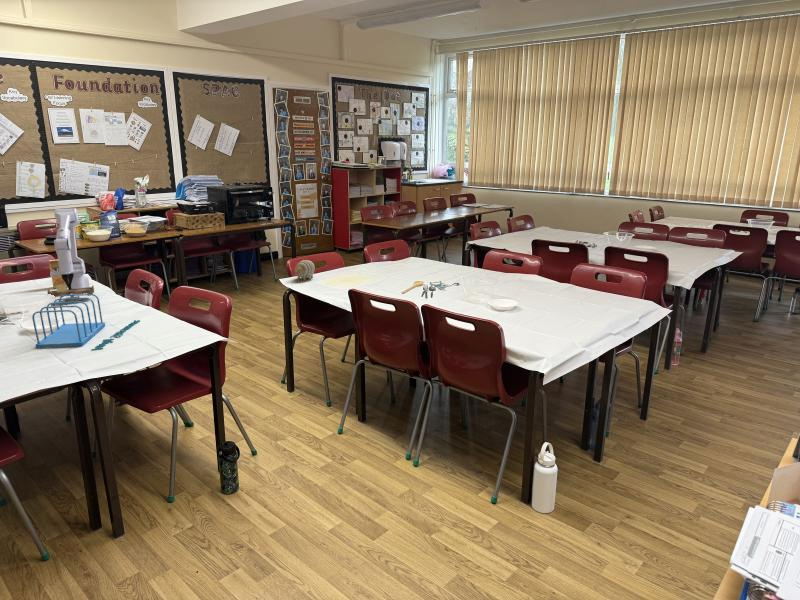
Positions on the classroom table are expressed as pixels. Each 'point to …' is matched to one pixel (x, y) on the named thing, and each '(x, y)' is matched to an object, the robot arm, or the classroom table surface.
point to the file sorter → (69, 326)
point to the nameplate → (115, 335)
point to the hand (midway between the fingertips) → (69, 288)
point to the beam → (74, 291)
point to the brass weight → (61, 288)
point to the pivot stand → (73, 299)
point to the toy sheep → (305, 269)
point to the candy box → (53, 268)
